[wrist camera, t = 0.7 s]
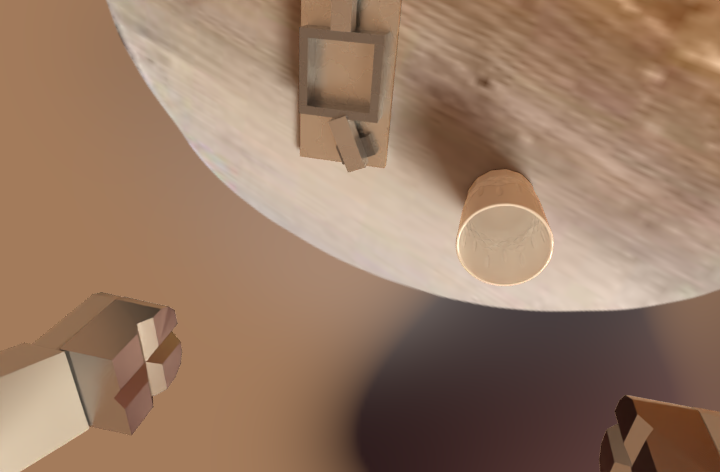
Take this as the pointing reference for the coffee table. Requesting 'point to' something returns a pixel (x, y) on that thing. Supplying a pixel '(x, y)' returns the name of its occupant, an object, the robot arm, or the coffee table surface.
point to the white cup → (503, 230)
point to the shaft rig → (347, 79)
